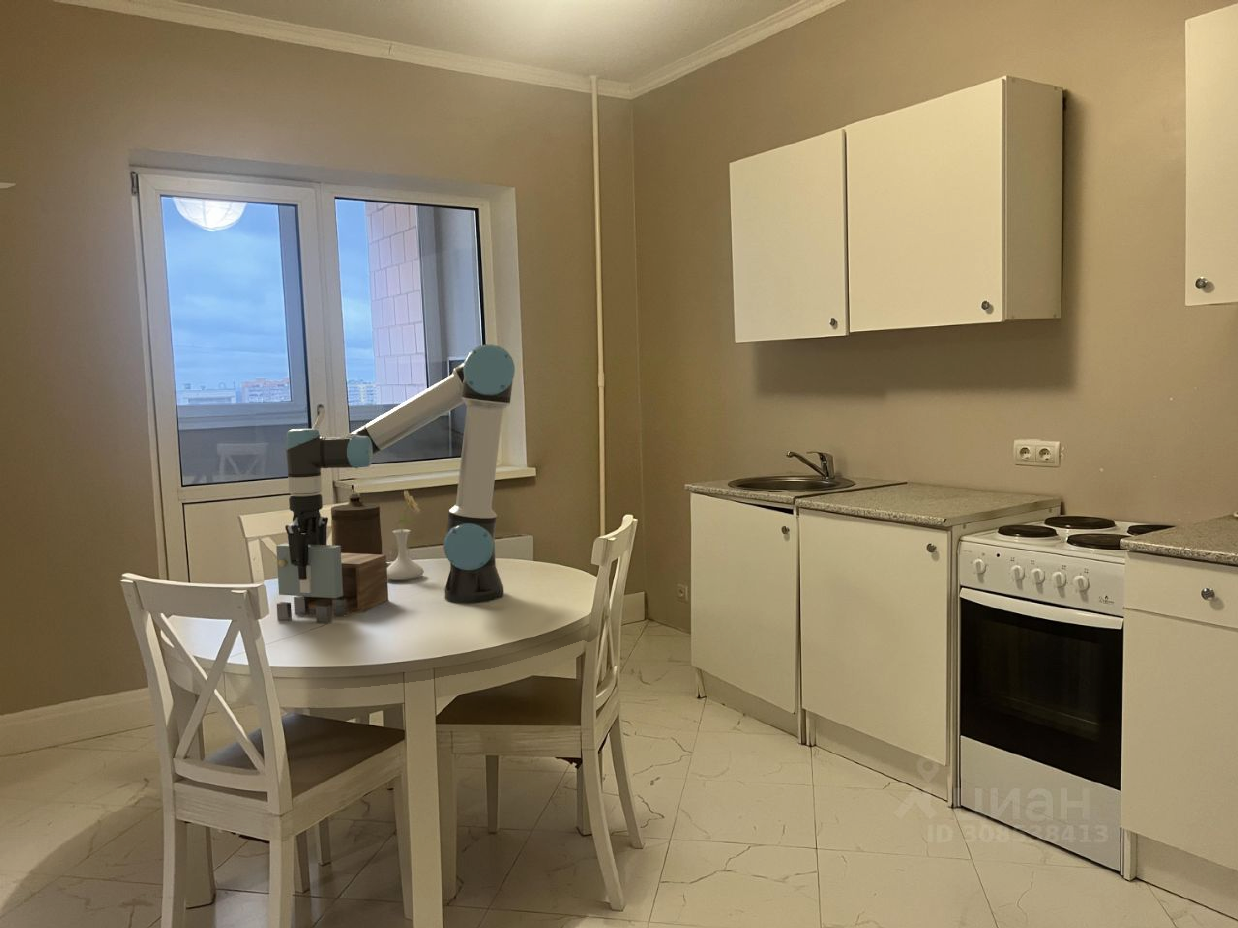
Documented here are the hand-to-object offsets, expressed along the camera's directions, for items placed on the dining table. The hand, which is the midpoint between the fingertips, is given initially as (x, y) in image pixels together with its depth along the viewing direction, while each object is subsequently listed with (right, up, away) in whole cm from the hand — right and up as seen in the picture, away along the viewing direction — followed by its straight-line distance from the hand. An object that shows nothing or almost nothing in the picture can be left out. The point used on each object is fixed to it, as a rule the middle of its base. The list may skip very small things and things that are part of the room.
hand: (310, 590), depth 225 cm
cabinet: (+4, -5, +13) cm, 15 cm away
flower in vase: (+13, -2, +43) cm, 45 cm away
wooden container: (-6, -1, +64) cm, 64 cm away
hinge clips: (0, -7, +1) cm, 7 cm away
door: (0, -1, 0) cm, 1 cm away
